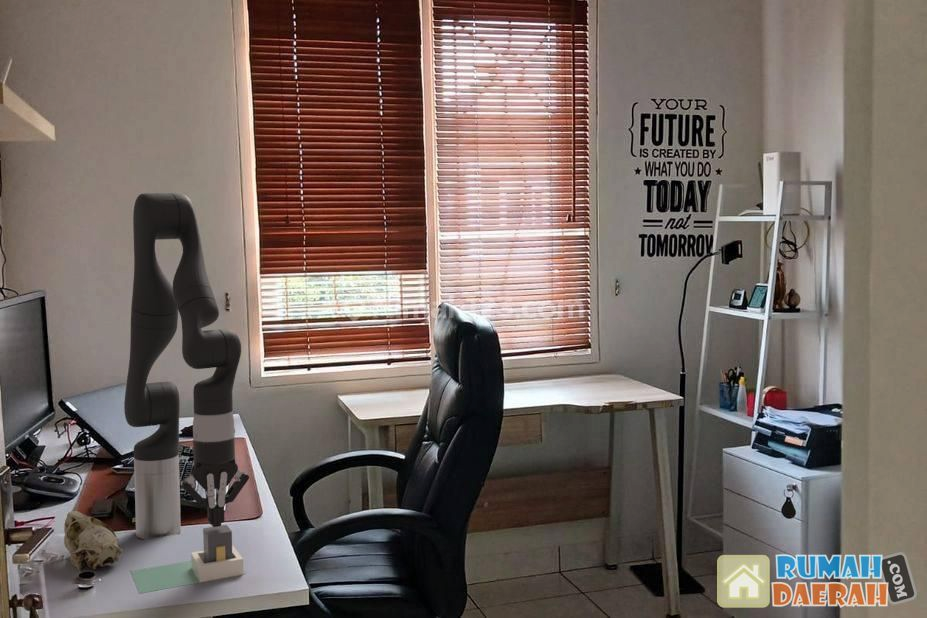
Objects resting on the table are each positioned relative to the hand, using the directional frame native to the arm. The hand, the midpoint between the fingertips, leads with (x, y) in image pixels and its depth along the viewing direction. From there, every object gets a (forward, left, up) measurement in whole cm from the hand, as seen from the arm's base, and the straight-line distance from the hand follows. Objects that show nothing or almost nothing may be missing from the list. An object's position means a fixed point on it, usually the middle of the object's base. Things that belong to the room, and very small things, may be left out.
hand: (216, 525), depth 160 cm
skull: (-17, -21, -10) cm, 29 cm away
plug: (0, 0, -9) cm, 9 cm away
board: (-2, -5, -10) cm, 11 cm away
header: (0, 0, -9) cm, 9 cm away
